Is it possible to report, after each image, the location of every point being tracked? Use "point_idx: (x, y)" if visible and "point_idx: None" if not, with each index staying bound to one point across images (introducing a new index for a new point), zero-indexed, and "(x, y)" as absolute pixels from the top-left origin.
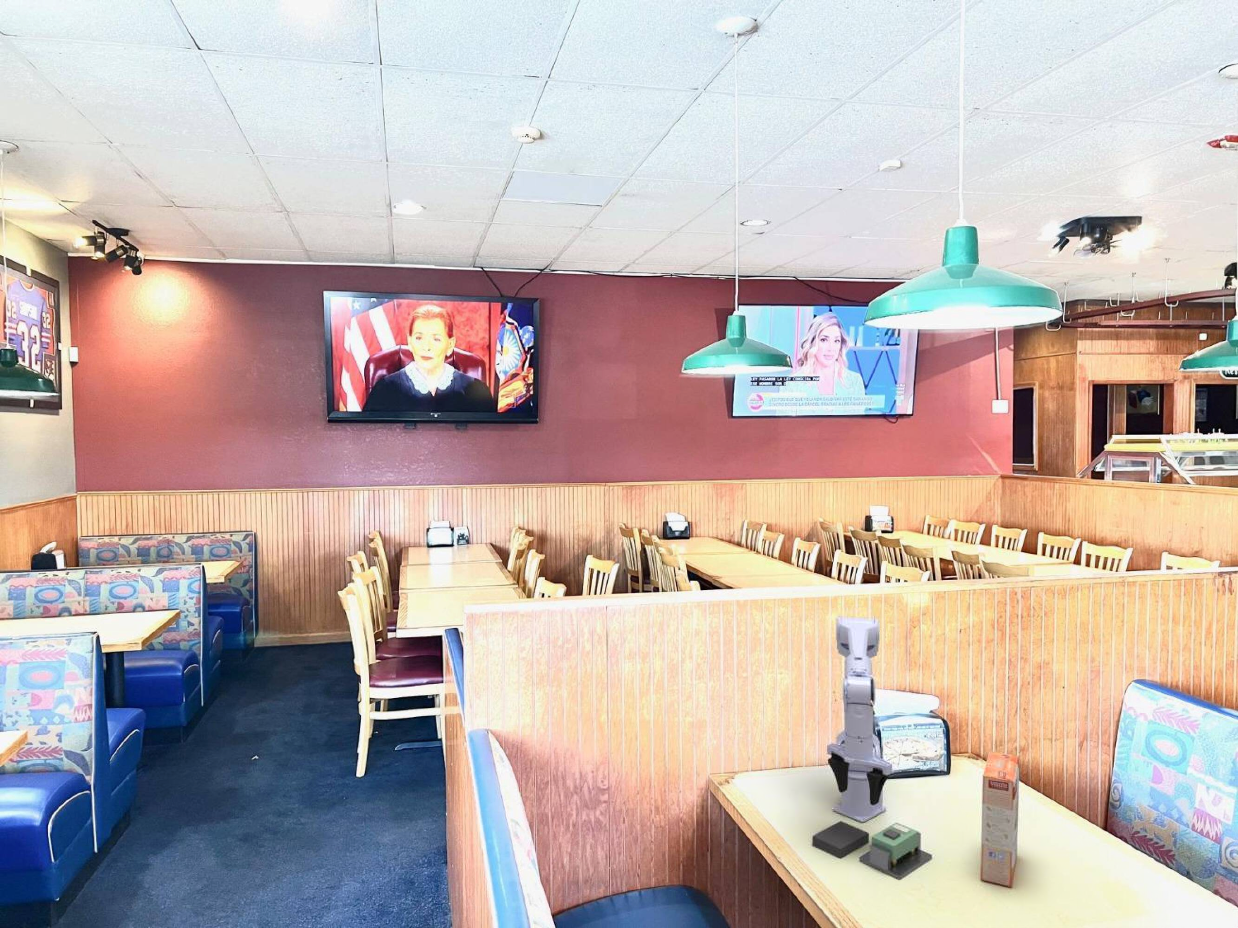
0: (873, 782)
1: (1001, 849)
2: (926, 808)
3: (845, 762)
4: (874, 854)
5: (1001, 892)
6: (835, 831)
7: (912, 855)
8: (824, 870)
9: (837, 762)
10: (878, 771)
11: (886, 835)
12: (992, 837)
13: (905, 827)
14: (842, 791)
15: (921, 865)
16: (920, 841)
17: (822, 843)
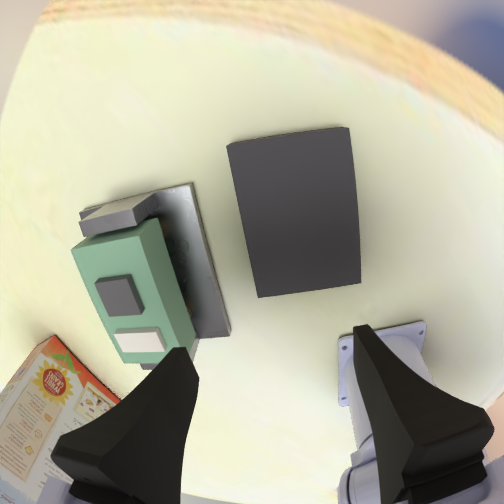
0: (94, 426)
1: (11, 382)
2: (293, 443)
3: (387, 477)
4: (128, 204)
5: (28, 327)
6: (325, 218)
7: None
8: (203, 55)
9: (414, 460)
10: (91, 493)
11: (117, 277)
12: (6, 393)
13: (152, 358)
14: (353, 335)
15: None
16: None
17: (303, 132)
